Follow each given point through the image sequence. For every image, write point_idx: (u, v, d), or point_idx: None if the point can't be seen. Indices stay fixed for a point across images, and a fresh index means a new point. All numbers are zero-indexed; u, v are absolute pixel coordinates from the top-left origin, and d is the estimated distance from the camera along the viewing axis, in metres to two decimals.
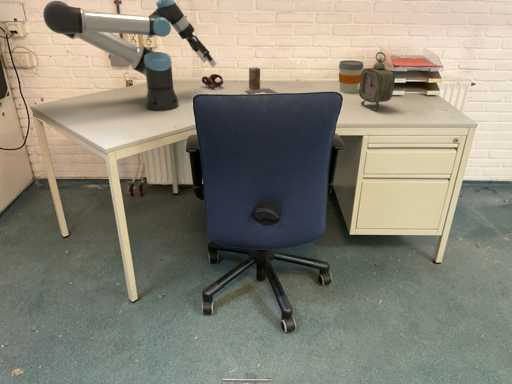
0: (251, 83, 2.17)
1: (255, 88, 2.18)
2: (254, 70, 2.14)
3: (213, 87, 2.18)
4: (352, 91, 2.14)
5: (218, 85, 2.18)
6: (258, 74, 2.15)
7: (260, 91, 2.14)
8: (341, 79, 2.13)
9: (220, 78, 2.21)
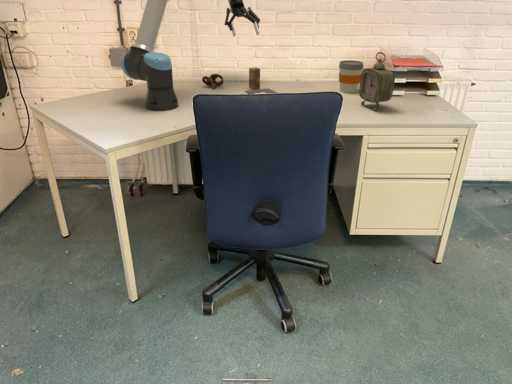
0: (251, 83, 2.17)
1: (255, 88, 2.18)
2: (254, 70, 2.14)
3: (214, 87, 2.18)
4: (352, 91, 2.14)
5: (218, 85, 2.19)
6: (258, 74, 2.15)
7: (260, 91, 2.14)
8: (341, 79, 2.13)
9: (220, 78, 2.21)
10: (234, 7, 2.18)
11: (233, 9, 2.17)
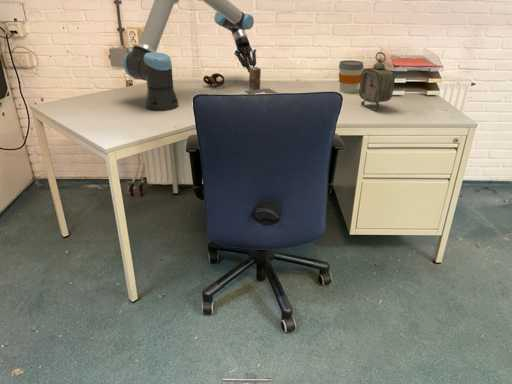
0: (251, 83, 2.17)
1: (255, 88, 2.18)
2: (255, 70, 2.13)
3: (215, 86, 2.20)
4: (352, 91, 2.14)
5: (220, 84, 2.20)
6: (258, 74, 2.15)
7: (260, 91, 2.14)
8: (341, 79, 2.13)
9: (222, 77, 2.22)
10: (239, 46, 2.23)
11: (239, 48, 2.22)
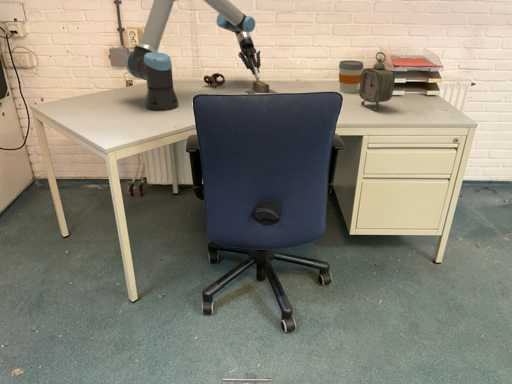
0: (255, 89, 2.14)
1: None
2: None
3: (215, 86, 2.20)
4: (352, 91, 2.14)
5: (220, 84, 2.20)
6: None
7: None
8: (341, 79, 2.13)
9: (222, 77, 2.23)
10: (243, 47, 2.18)
11: (243, 50, 2.18)
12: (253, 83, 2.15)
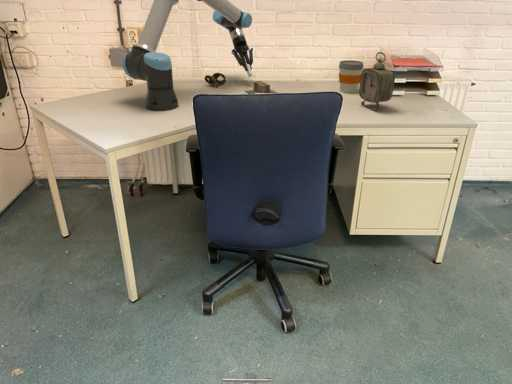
0: (256, 89, 2.14)
1: None
2: None
3: (216, 86, 2.21)
4: (352, 91, 2.14)
5: (221, 83, 2.21)
6: None
7: None
8: (341, 79, 2.13)
9: (223, 77, 2.24)
10: (236, 45, 2.24)
11: (236, 47, 2.24)
12: (254, 83, 2.14)
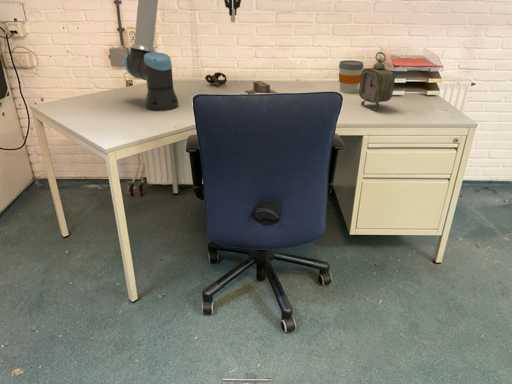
0: (256, 89, 2.14)
1: None
2: None
3: (217, 85, 2.22)
4: (352, 91, 2.14)
5: (222, 83, 2.22)
6: None
7: None
8: (341, 79, 2.13)
9: (224, 76, 2.25)
10: None
11: None
12: (254, 83, 2.14)
